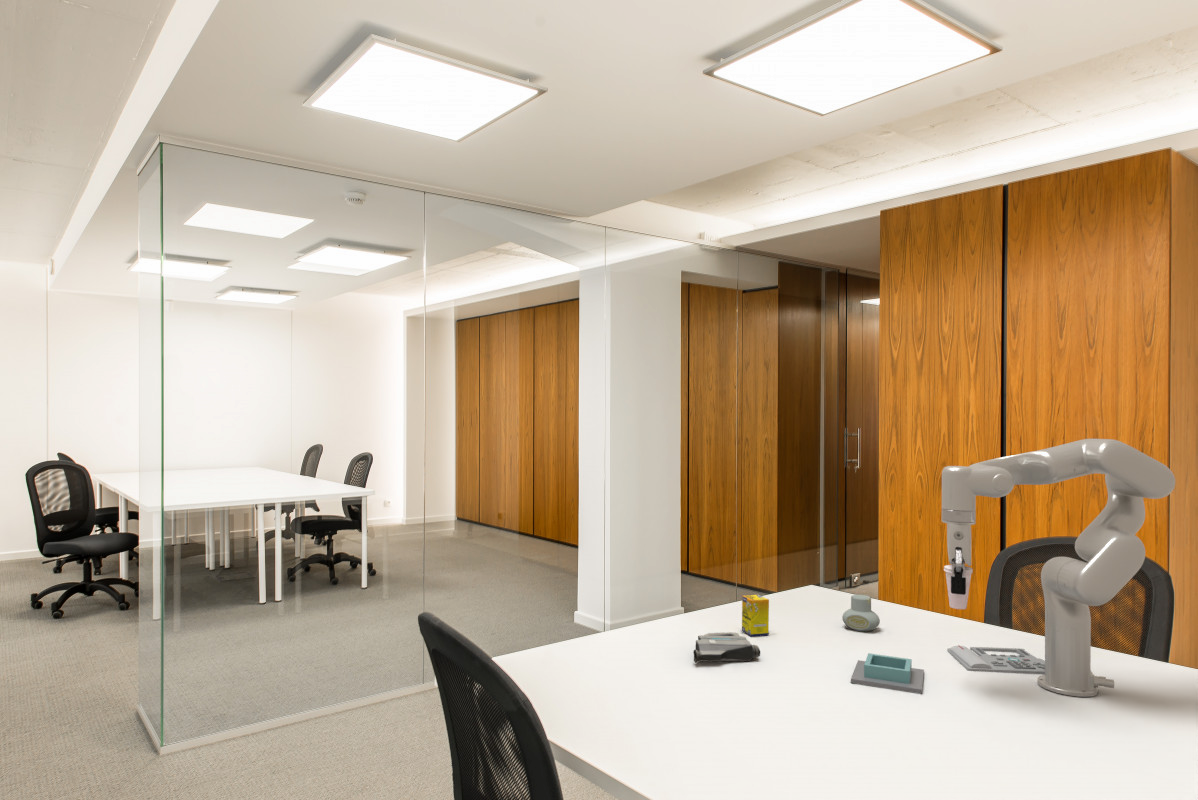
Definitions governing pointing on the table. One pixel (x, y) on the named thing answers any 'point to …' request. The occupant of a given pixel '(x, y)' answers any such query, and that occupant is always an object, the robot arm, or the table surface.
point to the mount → (888, 673)
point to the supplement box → (755, 615)
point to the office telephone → (997, 660)
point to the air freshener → (861, 614)
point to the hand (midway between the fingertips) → (958, 590)
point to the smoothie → (958, 599)
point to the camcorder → (724, 648)
